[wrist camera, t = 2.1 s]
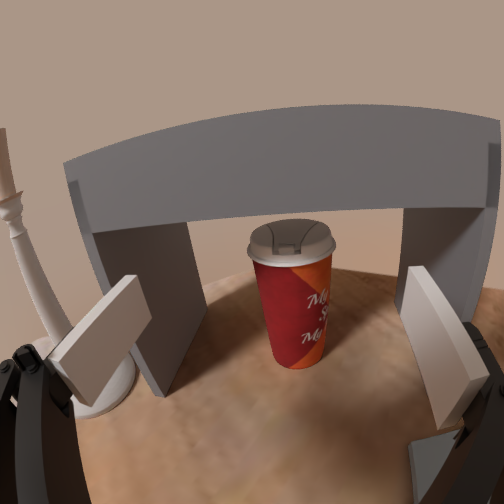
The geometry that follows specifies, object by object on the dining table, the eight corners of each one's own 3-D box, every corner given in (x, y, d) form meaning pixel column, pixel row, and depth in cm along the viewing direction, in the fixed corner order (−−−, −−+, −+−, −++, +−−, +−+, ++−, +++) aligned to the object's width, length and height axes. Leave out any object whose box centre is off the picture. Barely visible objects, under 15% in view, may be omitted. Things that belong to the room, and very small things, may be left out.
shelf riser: (402, 301, 33) (410, 117, 24) (438, 394, 19) (499, 120, 10) (199, 308, 39) (161, 140, 30) (155, 395, 25) (63, 163, 15)
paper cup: (332, 377, 25) (338, 248, 19) (257, 375, 27) (234, 252, 21) (332, 327, 32) (333, 214, 26) (270, 327, 34) (255, 218, 28)
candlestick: (55, 359, 30) (-23, 152, 18) (130, 336, 35) (63, 112, 22) (49, 427, 19) (-79, 156, 7) (143, 403, 24) (33, 86, 12)
